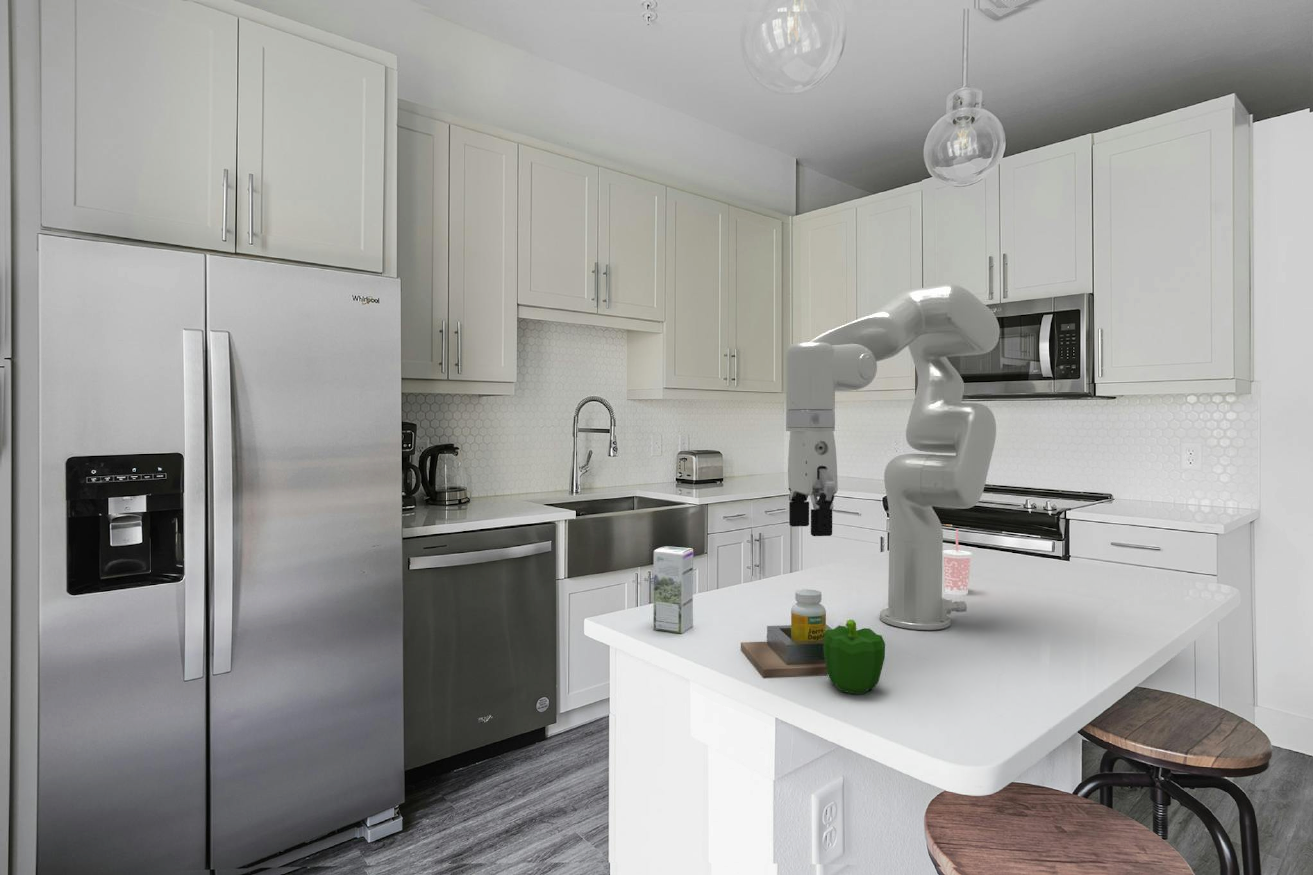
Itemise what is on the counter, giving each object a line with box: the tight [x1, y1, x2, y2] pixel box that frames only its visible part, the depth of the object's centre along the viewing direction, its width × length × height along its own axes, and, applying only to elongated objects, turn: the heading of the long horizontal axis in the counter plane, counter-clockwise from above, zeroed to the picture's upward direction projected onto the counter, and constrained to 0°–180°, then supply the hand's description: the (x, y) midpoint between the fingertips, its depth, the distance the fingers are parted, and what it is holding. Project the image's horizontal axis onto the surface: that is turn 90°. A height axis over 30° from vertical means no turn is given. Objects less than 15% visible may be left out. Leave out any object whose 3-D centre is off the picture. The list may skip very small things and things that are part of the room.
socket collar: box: [766, 623, 834, 665], centre depth 112 cm, size 10×10×3 cm
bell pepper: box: [823, 619, 886, 695], centre depth 100 cm, size 8×8×10 cm
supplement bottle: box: [790, 588, 827, 642], centre depth 112 cm, size 5×5×10 cm
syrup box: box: [652, 545, 694, 634], centre depth 129 cm, size 6×6×14 cm
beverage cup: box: [943, 529, 973, 596], centre depth 158 cm, size 6×6×14 cm
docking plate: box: [740, 640, 828, 679], centre depth 112 cm, size 18×13×1 cm
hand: (809, 530), depth 112 cm, fingers open, 9 cm apart
